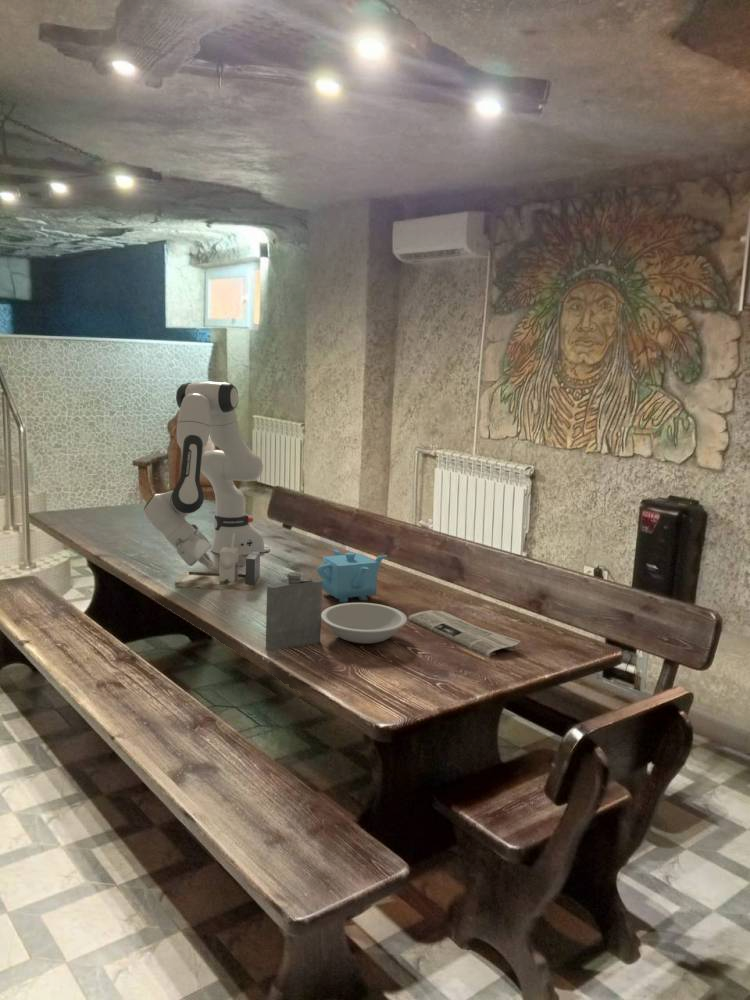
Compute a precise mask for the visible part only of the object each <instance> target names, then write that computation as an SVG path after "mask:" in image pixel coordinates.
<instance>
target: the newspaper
mask: <svg viewBox="0 0 750 1000" xmlns="http://www.w3.org/2000/svg"><path fill="white" fill-rule="evenodd" d="M407 621H409V622H412V623H414V624H416V625H418V626H419V627H422V628H424V629H426V630H428V631H431V632H433V633H435V634H437V635H440V636H442V637H444V638H446V639H448V640H450V641H453V642H455V643H456V644H459V645H462V646H463V647H465V648H467V649H469V650H472V651H474V652H476V653H478V654H480V655H483V656H485V657H487V658H490V657H491V656H495V655H497V653H496V651H499V650H502V649H503V650H506V651H510V652H511V651H512V652H514V650H515V649H516V646H517V645H518V644H520V643H521V642H522V641H521V640H519V639H517V638H513V637H510V636H506V635H504V634H500V633H498V632H494V631H491V630H488V629H485V628H482V627H479V626H477V625H475V624H472V623H470V622H468V621H467V620H463V619H461V618H459V617H457V616H455V615H453V614H450V613H448V612H446V611H444V610H435V609H434V610H433V609H430V610H424V611H420V612H419V611H418V612H416V613H413V614H410V615H409V616H407Z"/></svg>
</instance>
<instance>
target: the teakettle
mask: <svg viewBox="0 0 750 1000" xmlns="http://www.w3.org/2000/svg"><path fill="white" fill-rule="evenodd" d="M332 551H333V553H334V555H328V556H323V557H322V564H321V565H319V566H318V567H317V568H316V571H317V574H318V575H319V576H320V577H321V580H322V590H323V591H325V592H327V593H328V594H329V596H332V597H333V598H335V599H336V600H338V602H339V603H340V604H345V603H349V602H348V601H349V599H350V598H358V600H359V601H368V596H373V595H374V596H376V595H377V583H378V581H377V580H378V573H379V570H380V569H379V568H380V564H381V562H382V561H383V559H385V558H386V557H388V555H387V554H382V555H378V556H377V557H376V558H375V559H372V558H370V557H368V556H367V555H364V554H363V553H355V552H345V554H341V551H339V549H336V548H334V549H332Z"/></svg>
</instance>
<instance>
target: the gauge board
mask: <svg viewBox="0 0 750 1000" xmlns="http://www.w3.org/2000/svg"><path fill="white" fill-rule="evenodd" d="M219 573H220V572H203V571H185V572H184V573H182V574H181V576H180V577H178V578H177V579H176V580H175V581H174V587H175V586H183V587H182V588H192V587H201V588H200V589H210V588H221V589H220V590H229V589H234V590H233V591H248V590H249V591H250V592H252V591H253V592H254V591H255V590H256V588H257V586H258V585H259V583H260V582H261V576H260V577H259V579H258V580H257V582H256V584H255V585H246V584H245V574H246V573H245V574H242V573H240V574H239V573H238V577H237V579H236V580H235V582H229V581H227V583H224V581H219ZM257 584H258V585H257Z"/></svg>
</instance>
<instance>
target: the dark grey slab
mask: <svg viewBox="0 0 750 1000" xmlns="http://www.w3.org/2000/svg"><path fill="white" fill-rule="evenodd" d="M260 569H261V553H260V551H251V552H250V553H249V554H248V555H246V558H245V584H246V585H255V584H256V582H257V580H258V579H259V577H260V578H261V574H260V573H261V572H260V571H261V570H260Z"/></svg>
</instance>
